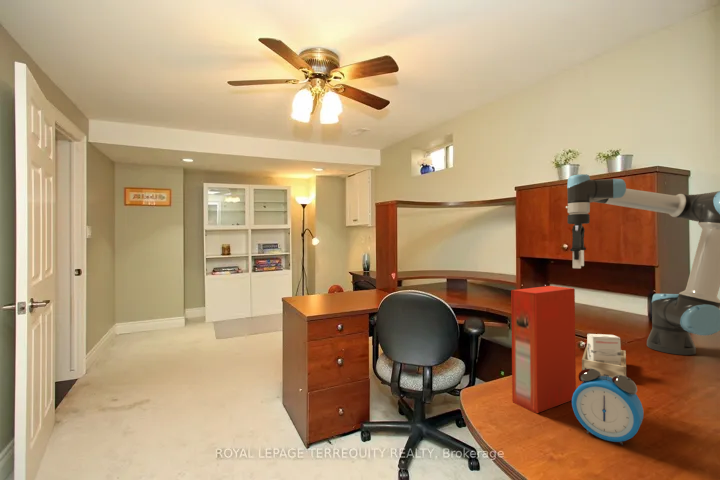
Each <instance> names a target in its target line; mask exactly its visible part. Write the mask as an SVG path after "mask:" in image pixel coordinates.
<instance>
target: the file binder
mask: <svg viewBox="0 0 720 480" xmlns="http://www.w3.org/2000/svg"><path fill="white" fill-rule="evenodd" d="M510 293H511V294H510V295H511V296H510V297H511V301H510V302H511V303H510V305H511V309H510V311H511V378H512V380H511V381H512V383H511V385H512V386H511V390H512V392H511V393H512V398H511V399H512V403H514V404H516V405H518V406H520V407H521V408H524V409H526V410H528V411H530V412H533V413H535V414H539V413H541V412H544V411H547V410H549V409H553V408H554V407H557V406H559V405H563V404H565V403H568V402H570V401H571V402H572V397H573V394H574V392H575V390H576V389H577V385H576V384H577V382H576V381H577V380H576V379H577V377H576V376H577V375H576V373H577V372H576V370H577V369H576V362H577V361H576V360H577V359H576V292H575V288H572V287H565V286H557V285H556V286H555V285H546V286H538V287H529V288H528V287H527V288H521V289H520V288H519V289H511V290H510Z"/></svg>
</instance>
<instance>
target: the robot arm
mask: <svg viewBox="0 0 720 480" xmlns="http://www.w3.org/2000/svg"><path fill="white" fill-rule="evenodd" d="M566 186H567V187H566V188H567V194H566V195H567V205H566V206H565V209H567V214H568V215H566V216H567V224H568V225H573V226H572V230H571V232H572V235H571V236H572V244H571V248H570V252H572V269H582V267H584V266H585V251H586V250H587V247H585V228H584V225H585V224H590V218H591V215H590V214H589V213H590V211H591V203H597V204H605V205H606V204H607V205H613V206H616V207H617V206H619V207H624V208H631V209H636V210H643V211H644V210H645V211H649V212H656V213H662V214H663V213H664V214H668V215H669V216H670V217H673V218H679V219H683V220H688V221H693V222H697V223H698V225H699V227H700V228H701V232H700V236H699V240H698V244H697V247H696V251H695V254H694V258H693V262H692V265H691V269H690V273H689V276H688V280H687V284H686V287H685V289H684V290H683V291H680V292H679V293H654V294H653V295H652V299H651V317H652V318H651V322H652V325H651V326H652V329H651V330H650V333H649V335H648V337H647V339H646V346H647V347H648V348H650V349H652V350H655V351H657V352H661V353H666V354H671V355H679V356H682V355H683V356H693V355H696V353H697V349H696V345H695V343H694V340H693V338H692V336H691V334H693V335H697V336H710V335H711V336H712V335H714V334H717V333H718V332H720V299H719V298H718V294H719V291H720V190H718V191H711V192H705V193H700V194H698V193H697V194H685V193H684V194H683V193H678V194H676V195H674V194H667V193H666V194H665V193H660V192H659V193H658V192H653V191H646V190H639V189H631V188H627V184H626V181H625V180H624V179H622V178H606V179H605V178H604V179H591V177H590V175H589V174H581V173H579V174H575V175H570V176H569V177H568V178H567V184H566Z"/></svg>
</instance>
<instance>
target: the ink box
mask: <svg viewBox="0 0 720 480" xmlns="http://www.w3.org/2000/svg"><path fill="white" fill-rule="evenodd" d="M586 337H587V339H586V340H587V341H586V345H587V350H588V360H591V361H597V362H603V363H608V364H614V365H620V366H621V350H622V348H621V347H622V346H621V337H620V336H617V335H614V334H604V333H603V334H602V333H597V334H596V333H587V335H586Z"/></svg>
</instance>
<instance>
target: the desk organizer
mask: <svg viewBox="0 0 720 480" xmlns="http://www.w3.org/2000/svg"><path fill="white" fill-rule="evenodd" d="M626 353H627V352H626V350H625V349H624V350H622V349H621V366H620V365H614V364H608V363H603V362H597V361H591V360H588V350H587V344H586V346H585V349H584V352H583V355H582V358H581V371H582V370H584V369H585V368H586V369H587V368H593V369H596V370H598V371H599V372H600V374H601V376H604V374H606V375H609V377H611V378H613V377H614V376H615V375H623V376H626V377H627V356H626V355H627V354H626ZM607 377H608V376H607Z"/></svg>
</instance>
